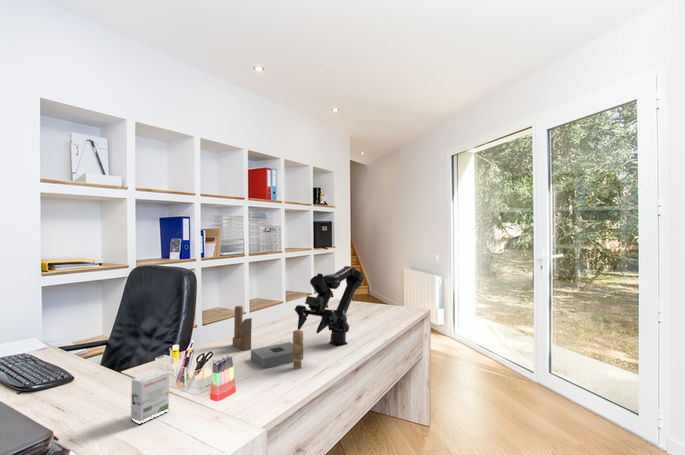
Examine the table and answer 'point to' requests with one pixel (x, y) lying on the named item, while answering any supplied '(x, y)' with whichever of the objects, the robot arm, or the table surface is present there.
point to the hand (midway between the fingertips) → (307, 331)
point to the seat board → (273, 355)
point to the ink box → (149, 395)
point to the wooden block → (242, 330)
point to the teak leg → (297, 348)
